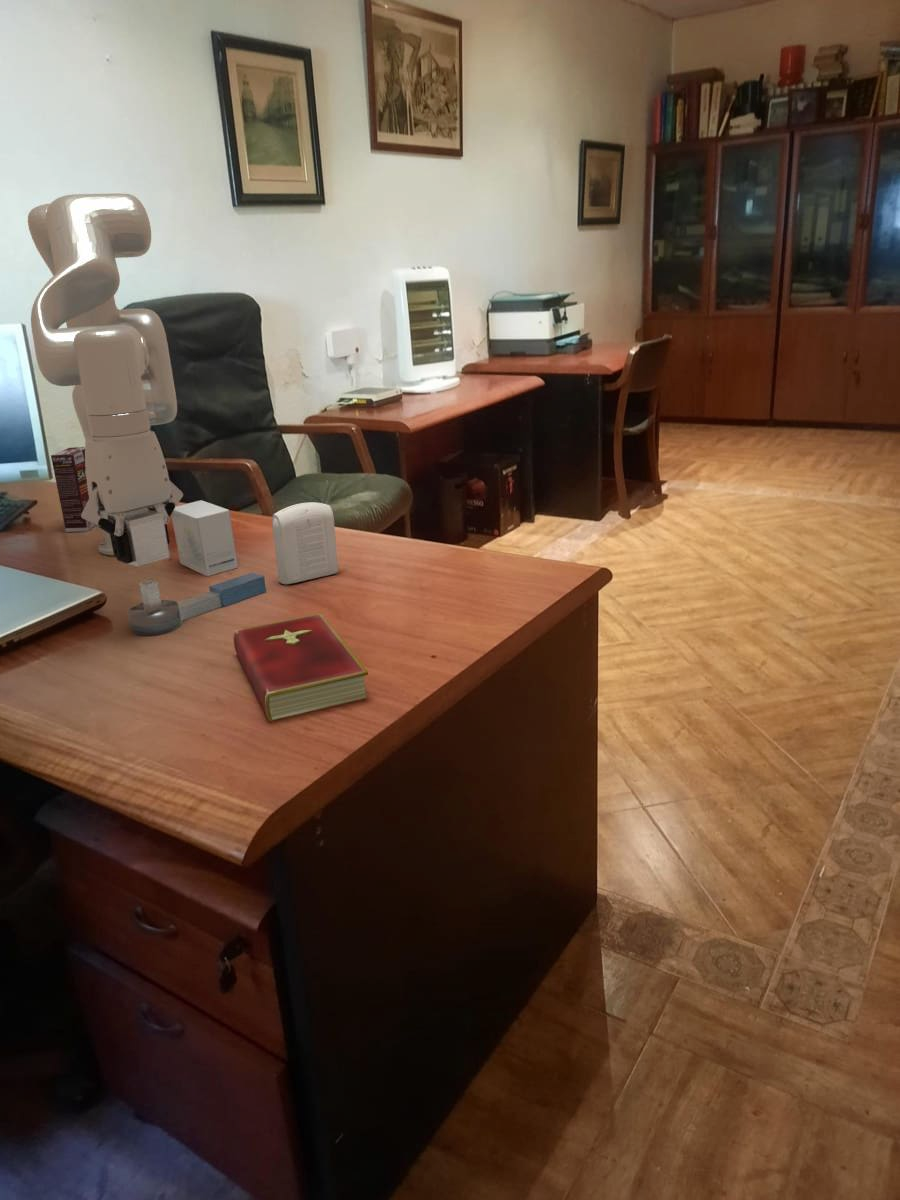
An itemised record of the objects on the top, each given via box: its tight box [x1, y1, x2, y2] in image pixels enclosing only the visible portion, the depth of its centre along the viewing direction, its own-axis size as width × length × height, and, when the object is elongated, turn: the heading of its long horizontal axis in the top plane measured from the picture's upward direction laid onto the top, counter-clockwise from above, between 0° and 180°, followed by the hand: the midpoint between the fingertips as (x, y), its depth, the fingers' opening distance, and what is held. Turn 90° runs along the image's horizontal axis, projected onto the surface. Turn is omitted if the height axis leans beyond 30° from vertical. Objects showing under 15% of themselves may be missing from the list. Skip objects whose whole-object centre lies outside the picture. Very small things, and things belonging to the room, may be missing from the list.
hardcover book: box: [232, 612, 369, 723], centre depth 109 cm, size 12×21×4 cm, turn 23°
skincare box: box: [170, 499, 239, 577], centre depth 152 cm, size 10×6×10 cm, turn 41°
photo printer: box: [271, 501, 339, 585], centre depth 143 cm, size 10×4×12 cm, turn 123°
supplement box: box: [50, 446, 101, 533], centre depth 181 cm, size 9×5×16 cm, turn 179°
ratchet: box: [127, 572, 267, 637], centre depth 132 cm, size 7×22×7 cm, turn 139°
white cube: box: [123, 509, 171, 567], centre depth 123 cm, size 5×5×6 cm
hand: (143, 554), depth 123 cm, fingers closed on white cube, 5 cm apart
